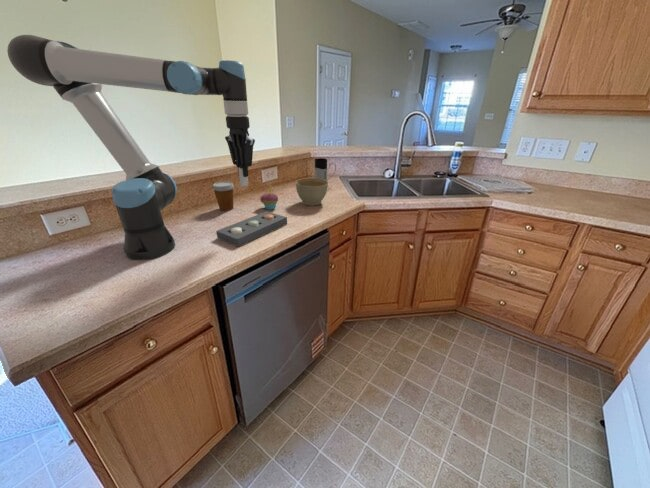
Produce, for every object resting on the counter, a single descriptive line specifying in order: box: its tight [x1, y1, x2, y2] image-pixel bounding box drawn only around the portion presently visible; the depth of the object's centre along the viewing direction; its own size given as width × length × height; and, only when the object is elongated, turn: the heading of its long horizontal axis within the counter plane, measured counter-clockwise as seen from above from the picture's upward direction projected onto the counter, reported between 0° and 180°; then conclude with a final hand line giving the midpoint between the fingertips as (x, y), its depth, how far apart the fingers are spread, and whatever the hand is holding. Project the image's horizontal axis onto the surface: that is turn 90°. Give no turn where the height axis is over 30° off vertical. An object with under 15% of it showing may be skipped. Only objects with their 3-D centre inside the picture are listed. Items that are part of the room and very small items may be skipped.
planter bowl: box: [295, 177, 329, 207], centre depth 143 cm, size 16×16×11 cm
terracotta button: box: [264, 214, 274, 220], centre depth 119 cm, size 4×4×4 cm
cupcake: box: [259, 184, 279, 210], centre depth 135 cm, size 9×8×12 cm
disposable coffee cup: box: [212, 181, 235, 212], centre depth 134 cm, size 10×10×12 cm
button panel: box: [215, 210, 288, 247], centre depth 113 cm, size 26×12×3 cm, turn 145°
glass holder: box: [314, 157, 337, 181], centre depth 174 cm, size 9×14×15 cm, turn 67°
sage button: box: [248, 220, 259, 227], centre depth 113 cm, size 4×4×4 cm
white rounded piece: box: [231, 227, 242, 235], centre depth 107 cm, size 4×4×4 cm
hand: (244, 185), depth 106 cm, fingers closed
